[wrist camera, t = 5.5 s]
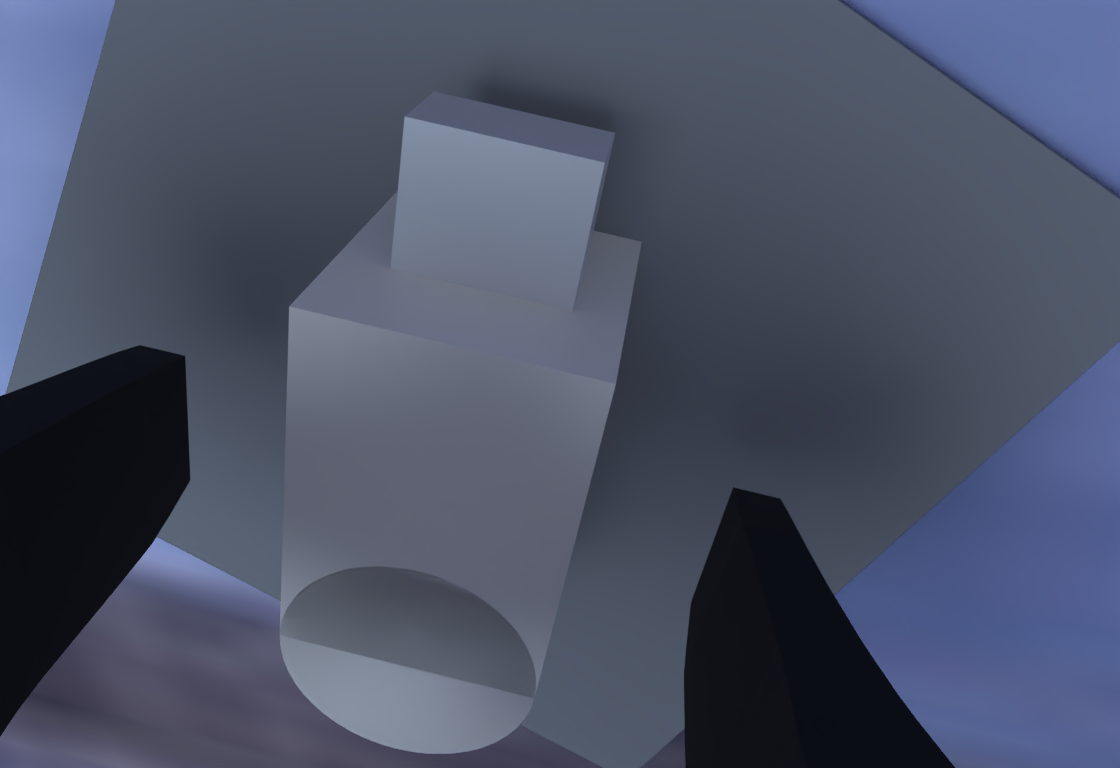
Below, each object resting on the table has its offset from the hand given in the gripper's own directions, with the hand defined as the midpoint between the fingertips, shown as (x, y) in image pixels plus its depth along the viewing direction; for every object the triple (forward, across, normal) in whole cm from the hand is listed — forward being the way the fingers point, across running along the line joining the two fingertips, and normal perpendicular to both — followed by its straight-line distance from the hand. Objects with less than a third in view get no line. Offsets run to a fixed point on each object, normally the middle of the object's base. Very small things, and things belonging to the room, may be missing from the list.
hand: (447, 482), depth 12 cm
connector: (+3, 0, 0) cm, 3 cm away
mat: (+3, 0, 0) cm, 3 cm away
